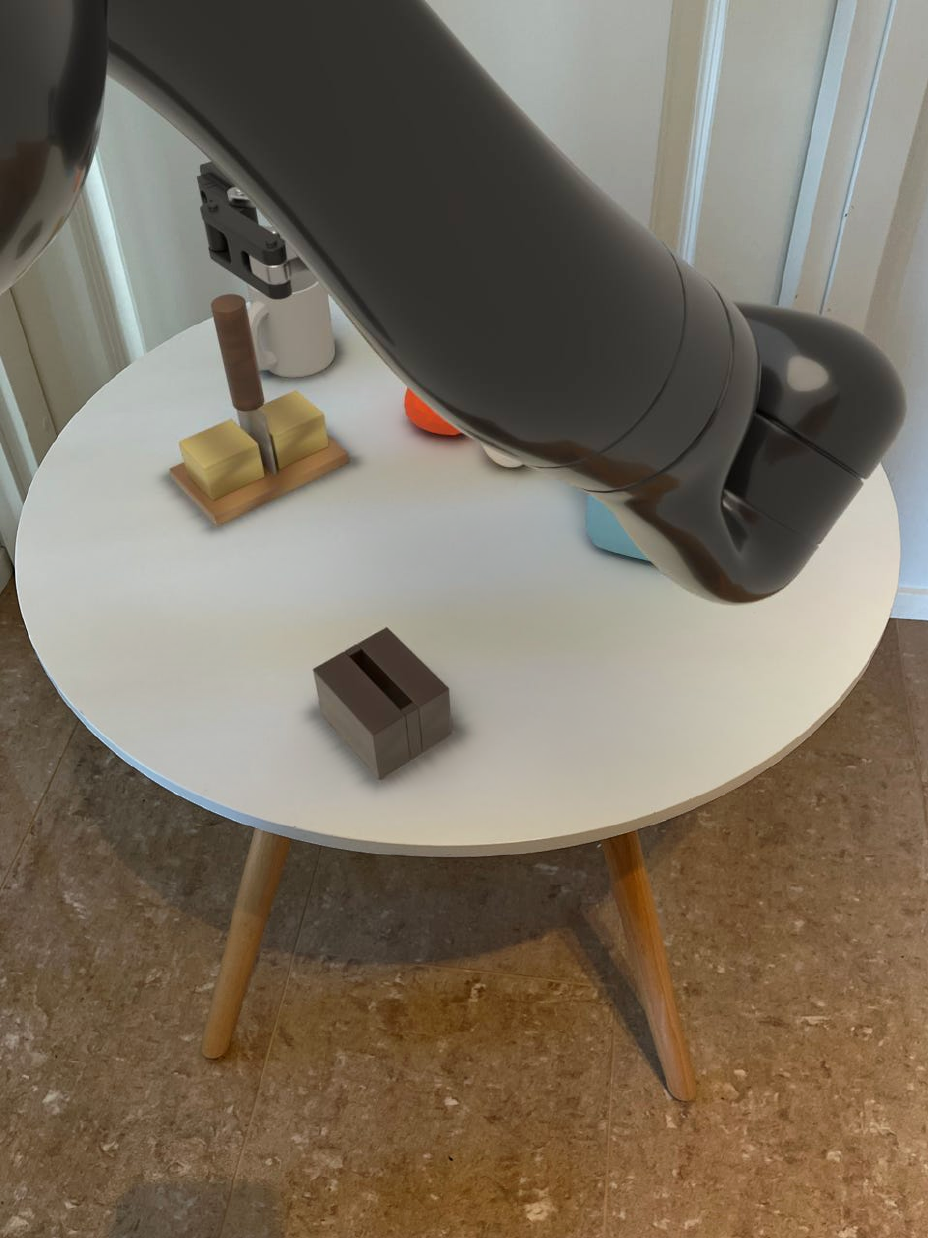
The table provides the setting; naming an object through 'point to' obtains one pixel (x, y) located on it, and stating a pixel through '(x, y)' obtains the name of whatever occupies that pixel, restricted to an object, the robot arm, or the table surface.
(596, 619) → the table surface
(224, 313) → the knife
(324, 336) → the cup
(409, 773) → the table surface
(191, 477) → the butter
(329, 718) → the knife holder
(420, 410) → the pumpkin
